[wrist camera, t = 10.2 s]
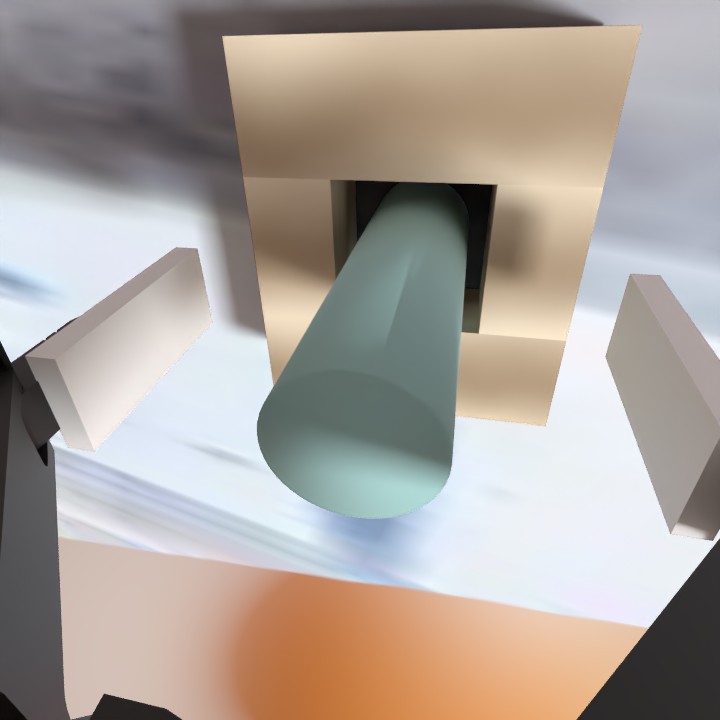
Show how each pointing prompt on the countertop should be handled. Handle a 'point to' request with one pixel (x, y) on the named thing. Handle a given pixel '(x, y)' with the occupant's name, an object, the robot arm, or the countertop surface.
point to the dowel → (378, 366)
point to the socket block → (435, 175)
